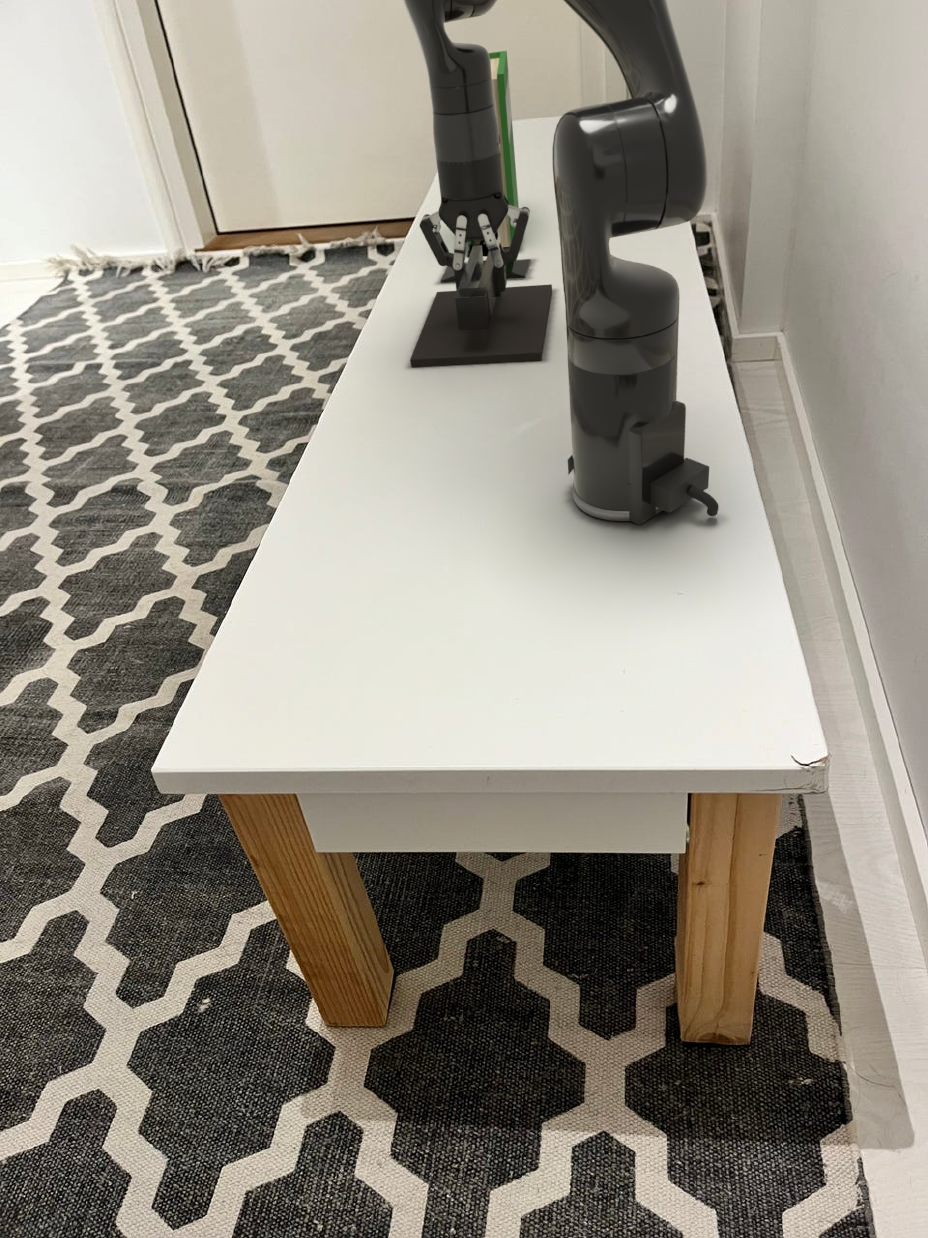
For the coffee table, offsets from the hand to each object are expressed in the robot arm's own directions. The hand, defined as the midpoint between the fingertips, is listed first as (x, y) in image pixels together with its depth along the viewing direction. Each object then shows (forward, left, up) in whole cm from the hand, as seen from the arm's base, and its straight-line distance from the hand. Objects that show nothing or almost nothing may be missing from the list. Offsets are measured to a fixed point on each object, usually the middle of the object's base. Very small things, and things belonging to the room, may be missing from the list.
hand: (482, 294), depth 122 cm
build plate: (+15, -14, -4) cm, 21 cm away
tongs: (0, 0, 0) cm, 0 cm away
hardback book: (+26, -26, -4) cm, 37 cm away
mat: (0, 0, -4) cm, 4 cm away
